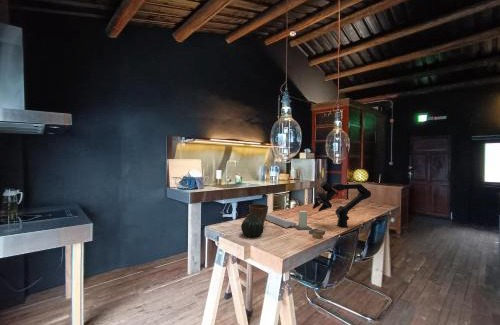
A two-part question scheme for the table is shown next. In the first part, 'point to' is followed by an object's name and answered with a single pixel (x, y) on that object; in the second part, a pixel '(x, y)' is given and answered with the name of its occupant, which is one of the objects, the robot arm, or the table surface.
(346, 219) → the robot arm
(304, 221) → the sage plank
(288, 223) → the decorative molding
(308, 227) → the rubber mat
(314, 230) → the offcut rack
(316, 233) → the walnut offcut stack
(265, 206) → the plant pot
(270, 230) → the table surface
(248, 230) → the squash
